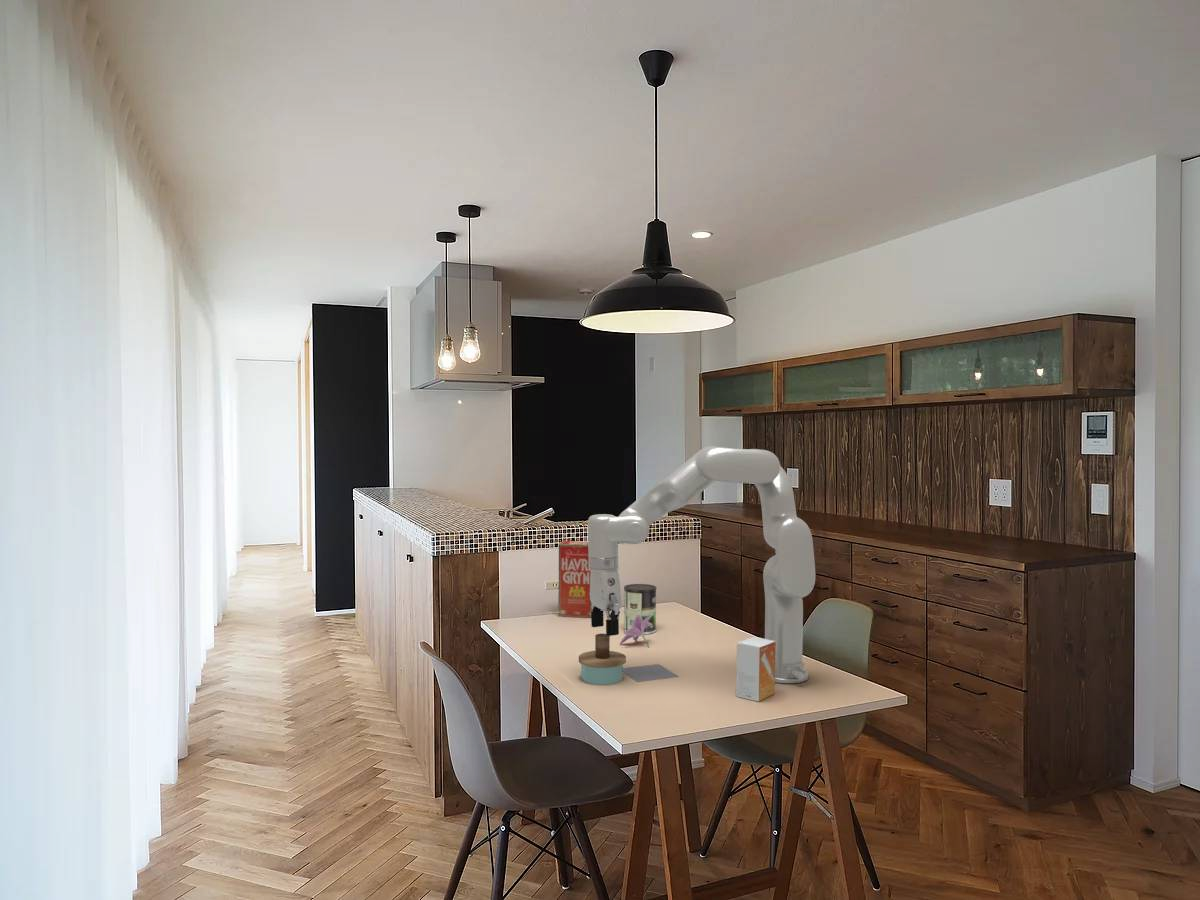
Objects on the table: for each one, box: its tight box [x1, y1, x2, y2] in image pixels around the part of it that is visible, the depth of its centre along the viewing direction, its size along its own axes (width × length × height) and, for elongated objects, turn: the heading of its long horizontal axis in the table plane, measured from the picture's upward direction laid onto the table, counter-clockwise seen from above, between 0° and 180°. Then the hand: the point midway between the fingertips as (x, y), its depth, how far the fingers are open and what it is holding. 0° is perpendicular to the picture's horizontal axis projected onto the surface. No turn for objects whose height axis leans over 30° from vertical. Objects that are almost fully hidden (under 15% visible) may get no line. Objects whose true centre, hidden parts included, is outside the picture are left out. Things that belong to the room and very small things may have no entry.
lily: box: [619, 615, 652, 648], centre depth 237 cm, size 12×12×10 cm
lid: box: [578, 633, 627, 668], centre depth 203 cm, size 12×12×6 cm
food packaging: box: [557, 540, 593, 619], centre depth 276 cm, size 13×9×25 cm
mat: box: [623, 663, 680, 683], centre depth 208 cm, size 12×12×1 cm
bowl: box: [580, 663, 624, 686], centre depth 203 cm, size 10×10×5 cm
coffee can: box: [623, 583, 657, 635], centre depth 254 cm, size 10×10×14 cm
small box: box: [735, 636, 776, 702], centre depth 192 cm, size 8×6×13 cm
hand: (604, 630), depth 203 cm, fingers open, 9 cm apart
